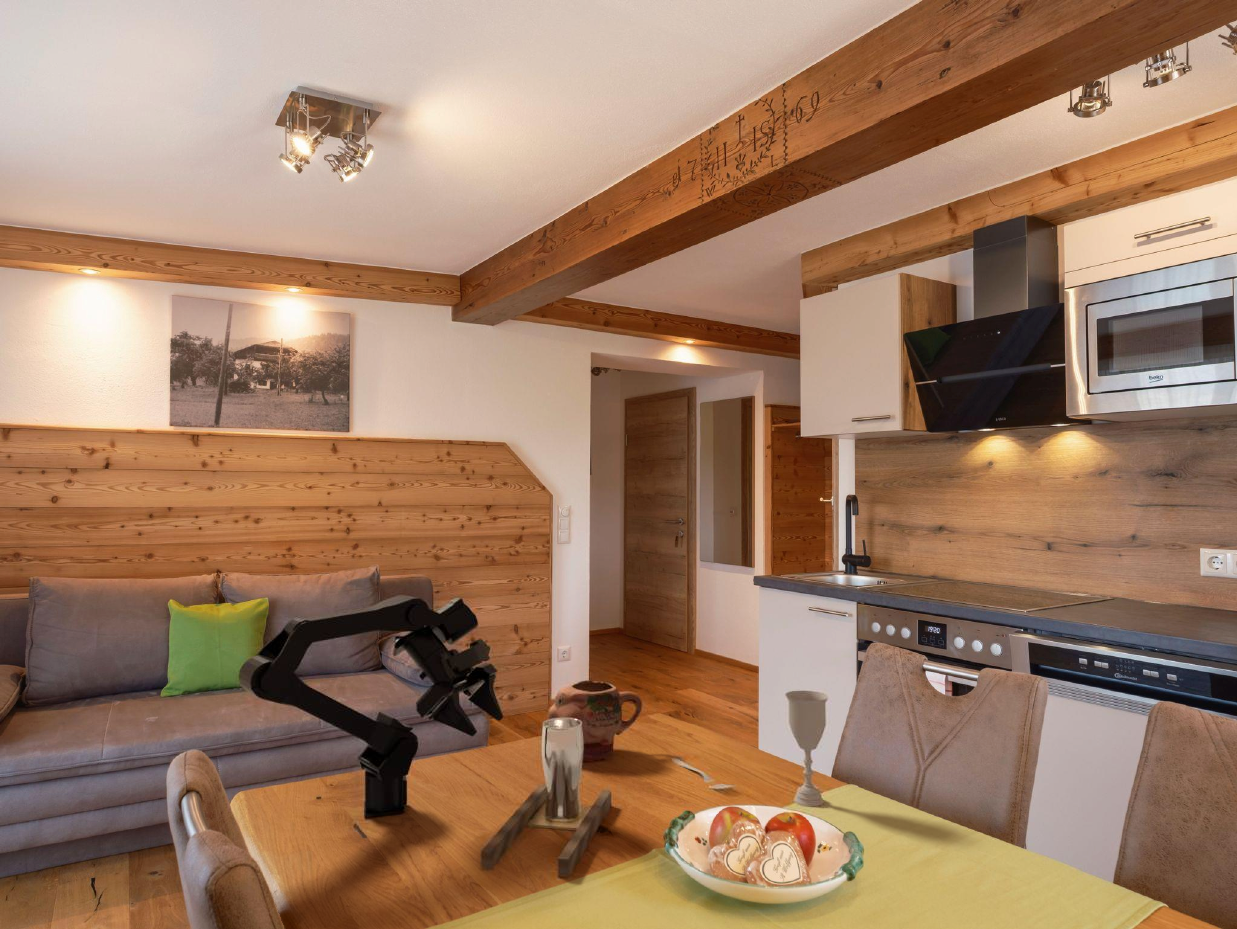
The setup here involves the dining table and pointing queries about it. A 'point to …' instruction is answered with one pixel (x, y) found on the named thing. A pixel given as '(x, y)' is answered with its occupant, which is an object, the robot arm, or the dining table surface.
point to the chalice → (807, 736)
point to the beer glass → (562, 767)
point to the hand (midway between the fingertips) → (488, 726)
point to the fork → (702, 775)
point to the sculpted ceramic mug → (595, 714)
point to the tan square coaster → (543, 822)
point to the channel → (525, 814)
